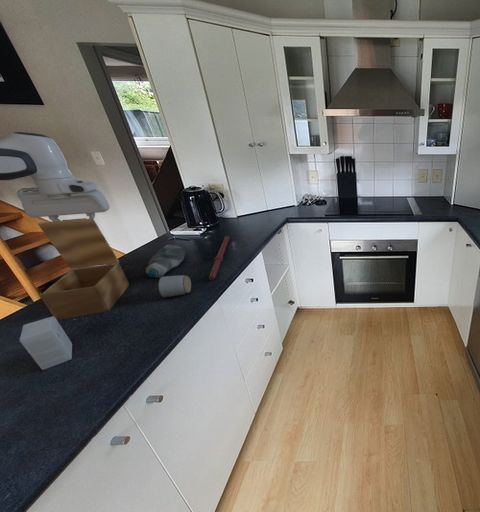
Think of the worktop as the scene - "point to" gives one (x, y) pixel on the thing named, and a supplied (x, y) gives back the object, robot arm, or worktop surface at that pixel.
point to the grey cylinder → (174, 285)
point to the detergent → (165, 260)
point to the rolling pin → (219, 258)
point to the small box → (46, 342)
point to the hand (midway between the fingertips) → (78, 226)
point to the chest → (85, 291)
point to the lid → (79, 242)
